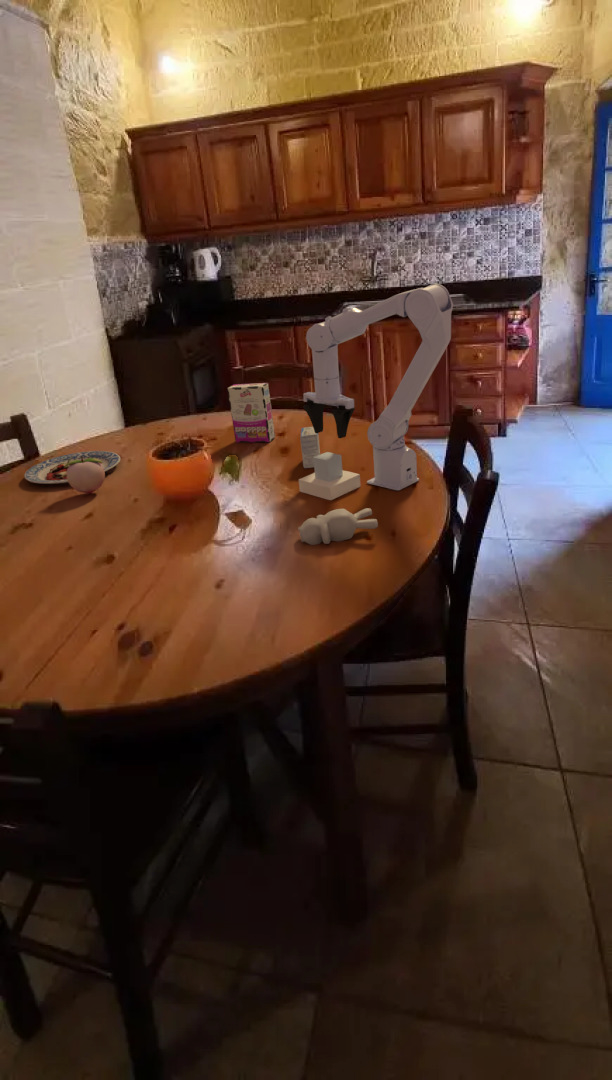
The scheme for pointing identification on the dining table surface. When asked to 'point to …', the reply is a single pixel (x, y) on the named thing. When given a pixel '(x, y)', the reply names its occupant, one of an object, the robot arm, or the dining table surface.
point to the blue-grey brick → (328, 466)
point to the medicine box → (309, 446)
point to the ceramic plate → (57, 473)
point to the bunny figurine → (335, 526)
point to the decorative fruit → (85, 474)
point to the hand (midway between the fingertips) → (330, 434)
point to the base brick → (329, 485)
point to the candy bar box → (251, 412)
